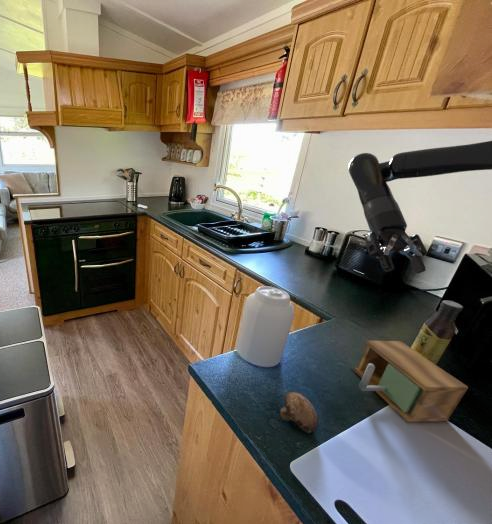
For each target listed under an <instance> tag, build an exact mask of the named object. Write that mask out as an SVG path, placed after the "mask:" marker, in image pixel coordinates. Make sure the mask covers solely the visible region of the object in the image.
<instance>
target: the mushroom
mask: <svg viewBox="0 0 492 524" xmlns="http://www.w3.org/2000/svg"><path fill="white" fill-rule="evenodd" d="M279 413H280V417H281V419H282V420H283V421H286V422H289V421H293V422H294V423H295V424H296V425H297V426H298V427H299V428H300V429H301V430H302V431H303V432H305V433H308V434H310V433H313V432H315V431H316V430H317V428H318V425H319V424H318V423H319V422H318V421H319V418H318V414H317V411H316V409H315V407H314V405H313V404H312V403H311V401H309V399H308V398H307V397H305V396H304V395H303V394H301V393H300V392H296V391H288V392H287V393H286V394H285V397H284V406H283V407H281V408H280V411H279Z"/></svg>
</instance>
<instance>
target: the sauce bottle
mask: <svg viewBox="0 0 492 524" xmlns="http://www.w3.org/2000/svg"><path fill="white" fill-rule="evenodd" d="M463 308H464V306H463V305H461V304H460V303H458V302H455V301H453V300H442V301H441V302H440V306H439V308H438V310H437V312H436V313H434V314H433V315H432V316H431V317H429V318H428V319H427V320H426V321H424V322H423V325H422V327H421V328H420V330H419V331H418V333H417V336H416V338H415V339H414V340H413V341H414V342H413V343H412V345H411V347H410V348H412V349H413V350H415V351H416V352H418V353H419V354H421V355H422V356H423V357H425V358H426V359H428V360H429V361H431V362H432V363H434V364H435V365H437V364H438V362H439V360H440V359H441V357H442V356H443V354H444V352H445V350H447V348H448V345H449V344H450V342H451V341H452V338H453V336H454V334H455V332H456V329H457V328H456V323H455V321H456V320H457V317H458V315H459V314H460V313H461V312H462V310H463Z"/></svg>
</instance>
